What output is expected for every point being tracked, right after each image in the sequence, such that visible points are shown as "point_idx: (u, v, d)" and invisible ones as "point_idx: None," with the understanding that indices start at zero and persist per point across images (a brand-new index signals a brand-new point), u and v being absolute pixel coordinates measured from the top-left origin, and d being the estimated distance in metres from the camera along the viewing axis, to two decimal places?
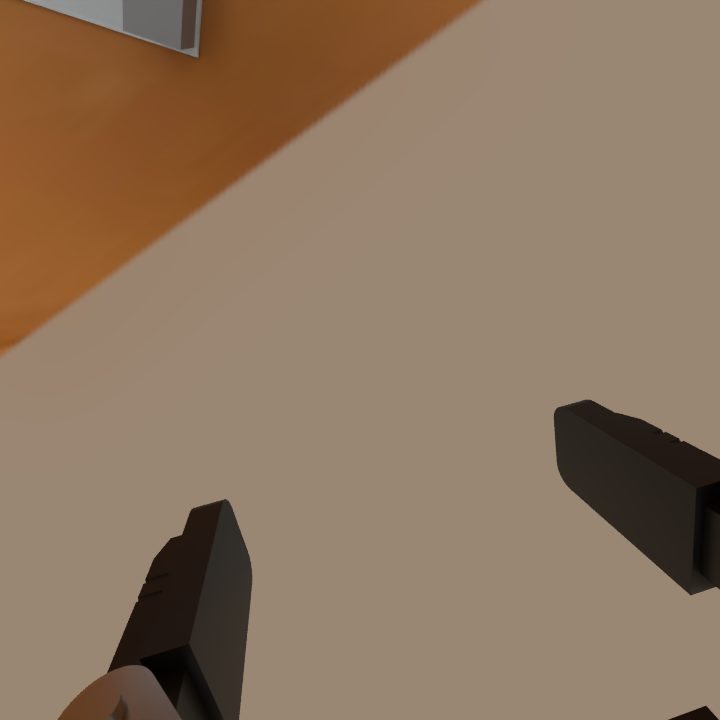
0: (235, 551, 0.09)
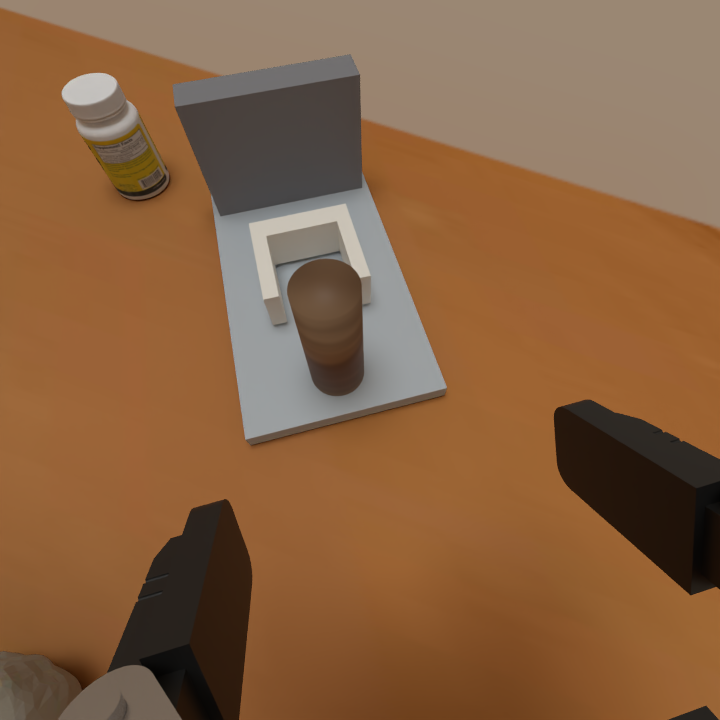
0: (235, 551, 0.09)
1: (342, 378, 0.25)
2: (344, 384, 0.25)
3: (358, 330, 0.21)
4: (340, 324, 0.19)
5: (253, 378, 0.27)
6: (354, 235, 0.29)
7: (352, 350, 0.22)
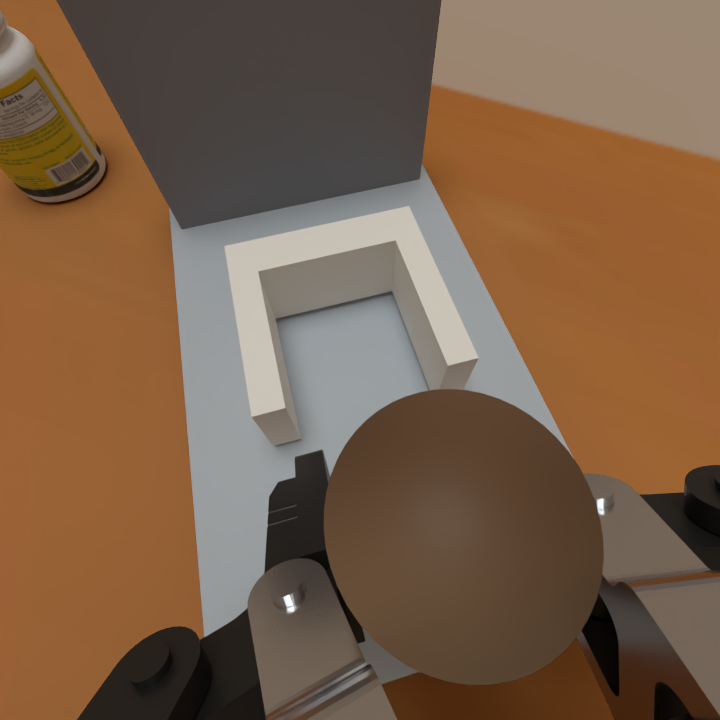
0: None
1: None
2: None
3: None
4: None
5: (233, 570, 0.13)
6: (433, 269, 0.14)
7: None
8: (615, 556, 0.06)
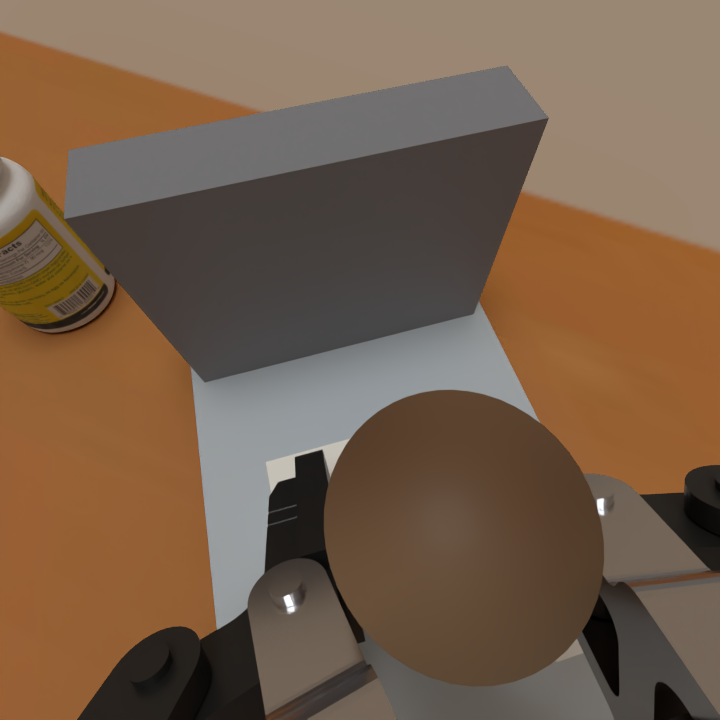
0: None
1: None
2: None
3: None
4: None
5: None
6: None
7: None
8: (615, 556, 0.06)
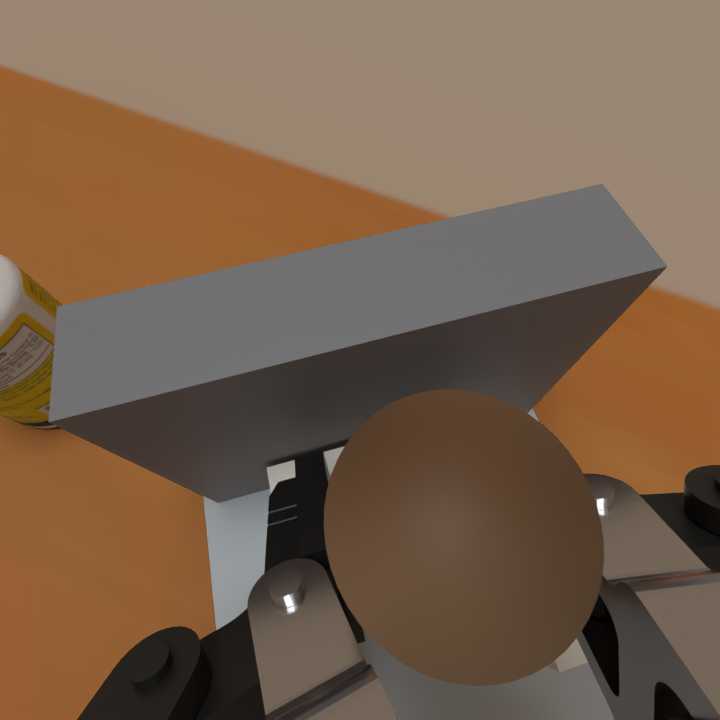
0: None
1: None
2: None
3: None
4: None
5: None
6: None
7: None
8: (615, 556, 0.06)
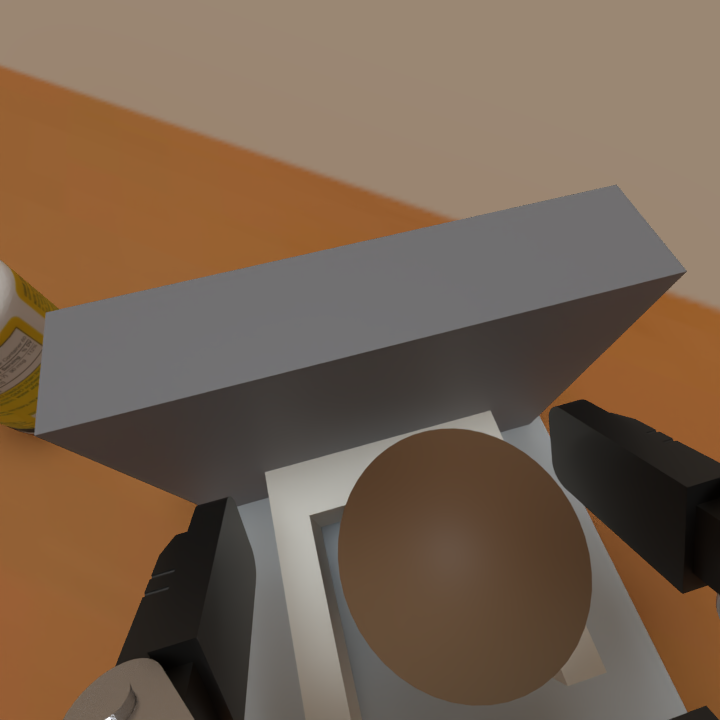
0: (240, 547, 0.09)
1: None
2: None
3: None
4: None
5: None
6: None
7: None
8: None
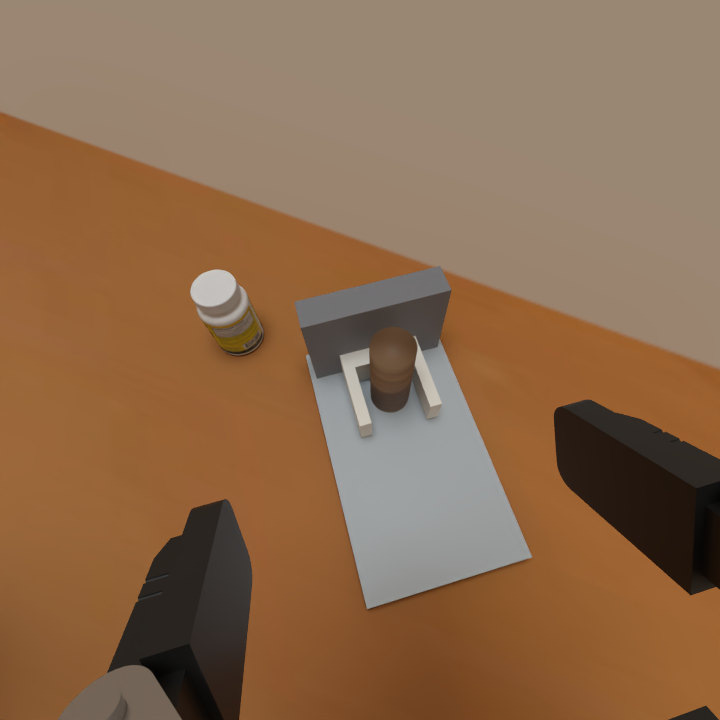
0: (235, 551, 0.09)
1: (397, 401, 0.35)
2: (397, 405, 0.36)
3: (412, 371, 0.32)
4: (404, 371, 0.30)
5: (366, 547, 0.33)
6: (425, 366, 0.36)
7: (407, 384, 0.33)
8: None
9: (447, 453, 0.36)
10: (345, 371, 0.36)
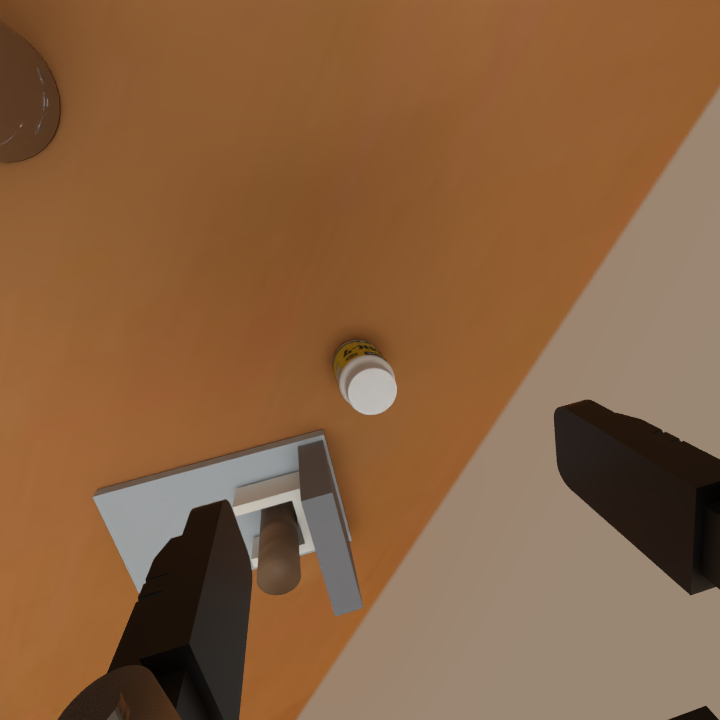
0: (235, 551, 0.09)
1: None
2: None
3: None
4: None
5: (140, 494, 0.40)
6: None
7: None
8: None
9: None
10: (287, 492, 0.38)
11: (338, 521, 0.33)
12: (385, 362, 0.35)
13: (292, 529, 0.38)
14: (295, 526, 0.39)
